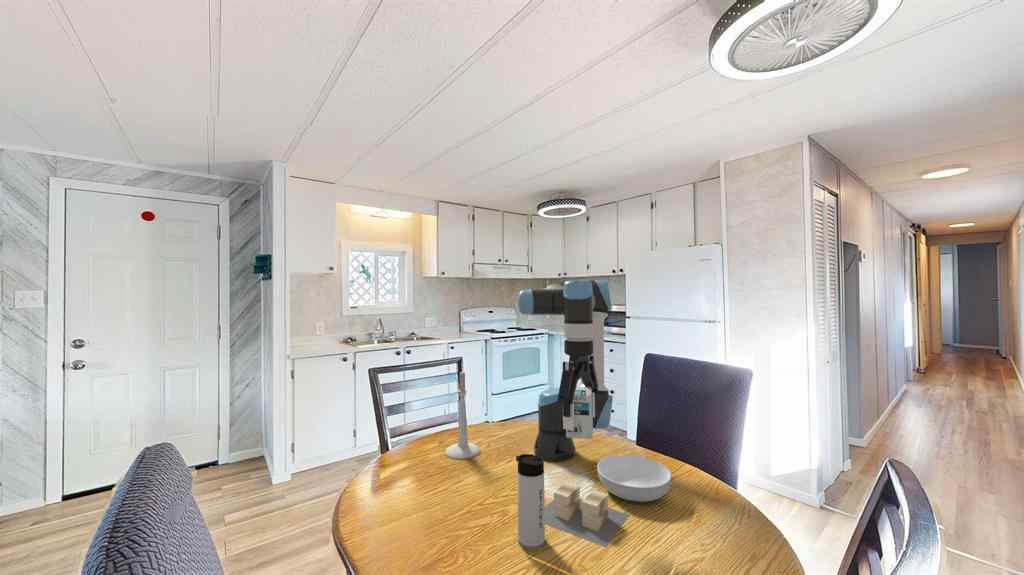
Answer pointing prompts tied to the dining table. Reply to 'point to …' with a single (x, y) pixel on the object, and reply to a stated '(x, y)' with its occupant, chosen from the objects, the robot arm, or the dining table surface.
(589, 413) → the light bulb box
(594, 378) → the robot arm
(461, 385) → the candlestick
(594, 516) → the block
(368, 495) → the dining table surface
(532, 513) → the travel mug
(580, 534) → the mat
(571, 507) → the beige wooden block
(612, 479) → the serving bowl
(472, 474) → the dining table surface
